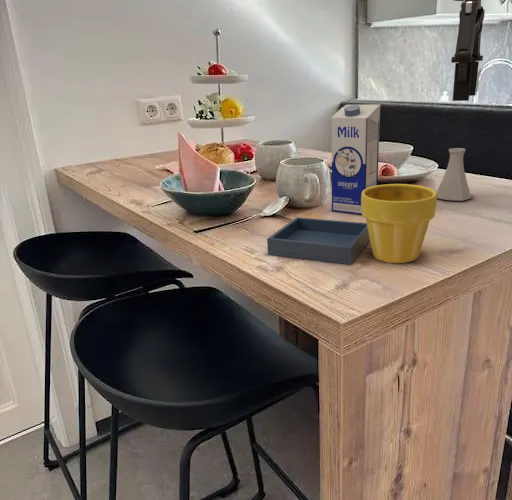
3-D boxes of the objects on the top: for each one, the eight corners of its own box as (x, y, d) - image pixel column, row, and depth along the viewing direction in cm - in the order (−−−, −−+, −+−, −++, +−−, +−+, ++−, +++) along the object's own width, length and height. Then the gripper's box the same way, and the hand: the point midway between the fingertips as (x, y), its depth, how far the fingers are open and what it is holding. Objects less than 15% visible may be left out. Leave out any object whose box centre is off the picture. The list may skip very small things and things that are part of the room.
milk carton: (377, 206, 100) (381, 103, 93) (364, 215, 95) (367, 106, 88) (345, 203, 104) (346, 103, 97) (330, 211, 99) (330, 106, 92)
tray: (371, 238, 82) (371, 223, 81) (350, 264, 72) (350, 247, 71) (296, 231, 88) (296, 217, 87) (267, 254, 78) (266, 238, 77)
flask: (465, 203, 99) (470, 152, 96) (429, 199, 103) (433, 150, 100) (476, 195, 105) (481, 147, 101) (441, 192, 109) (444, 145, 105)
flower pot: (400, 274, 68) (404, 204, 64) (345, 255, 76) (346, 192, 72) (446, 256, 73) (452, 190, 70) (390, 239, 81) (393, 180, 78)
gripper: (461, -15, 101) (452, 94, 109) (443, -33, 81) (434, 103, 88) (502, -20, 98) (490, 93, 105) (494, -40, 77) (480, 102, 85)
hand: (464, 98), depth 97 cm, fingers open, 13 cm apart
